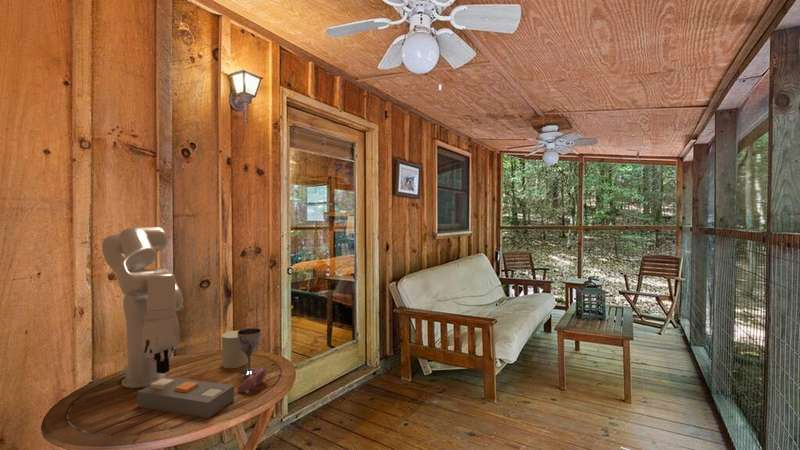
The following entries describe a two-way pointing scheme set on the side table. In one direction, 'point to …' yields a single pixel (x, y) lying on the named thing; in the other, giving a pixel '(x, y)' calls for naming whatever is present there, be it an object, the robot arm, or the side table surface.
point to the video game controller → (253, 380)
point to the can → (232, 351)
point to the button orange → (186, 387)
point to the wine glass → (248, 346)
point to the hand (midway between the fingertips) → (162, 372)
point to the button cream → (162, 383)
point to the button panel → (186, 398)
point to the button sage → (211, 392)
